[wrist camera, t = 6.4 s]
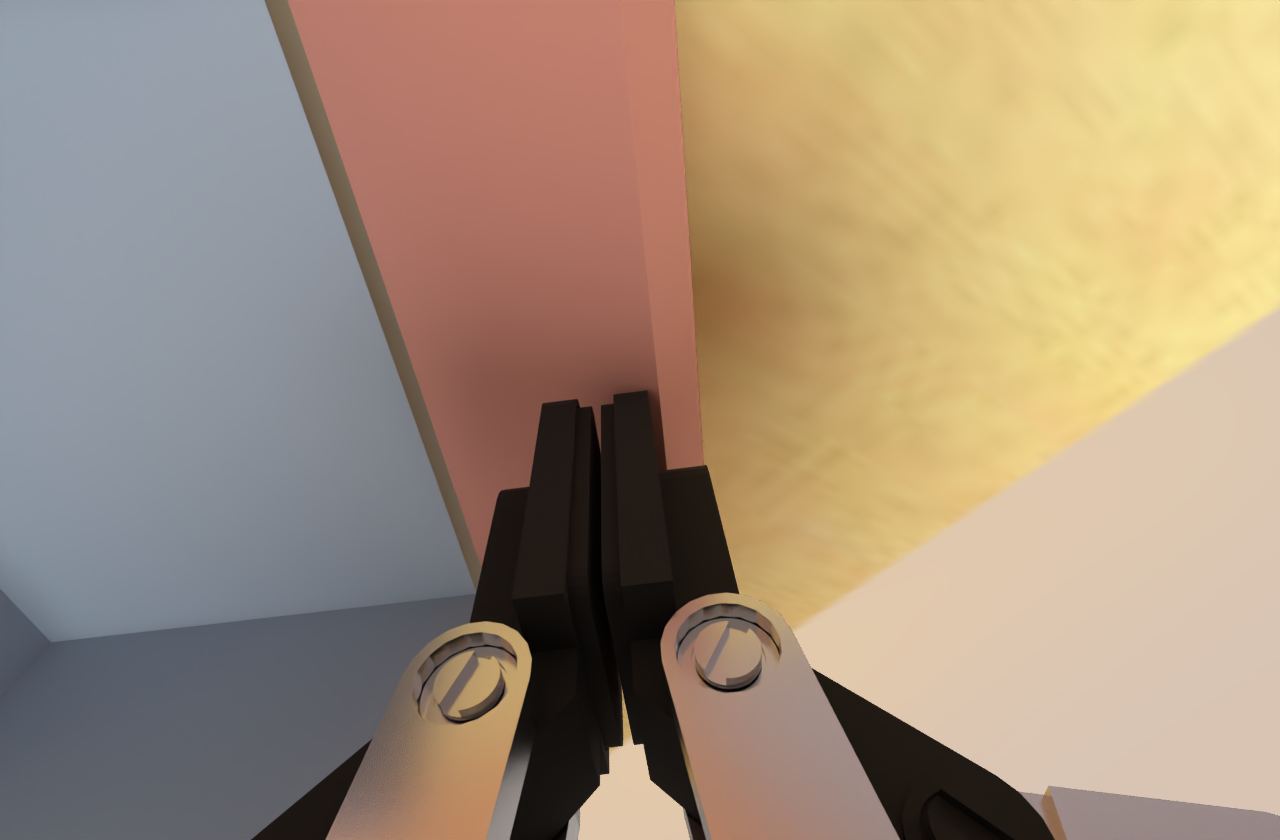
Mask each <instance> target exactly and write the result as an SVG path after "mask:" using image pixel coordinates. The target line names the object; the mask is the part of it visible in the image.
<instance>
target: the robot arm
mask: <svg viewBox="0 0 1280 840" xmlns="http://www.w3.org/2000/svg"><path fill="white" fill-rule="evenodd" d="M613 403H614V404H606V405H601V451H600V446H599V440H598V434H597V429H596V423H595V417H594V412H593V408H592V406H589V407H581V408H580V405H579V401H578V399H572V400H564V401H556V402H547V403H543V404H542V407H541V414H540V420H539V426H538V433H537V439H536V446H535V452H534V459H533V465H532V472H531V478H530V484H529V487H522V488H513V489H505V490H501V491H500V492H499V494H498V497H497V501H496V505H495V510H494V514H493V519H492V523H491V528H490V532H489V537H488V541H487V546H486V551H485V555H484V560H483V564H482V569H481V573H480V578H479V582H478V587H477V591H476V596H475V600H474V605H473V610H472V614H471V619H470V623H468V624H464V625H462V626H459V627H456V628H454V629H451V630H448V631H446V632H445V633H443V634H441V635H440V636H438V637H437V638H435V639H433V640H432V641H430V642H429V643H428V644H427V645H426V646H425V647H424V648H423V649H422V650H421V651H420V652H419V653H418V654H417V655H416V656H414V658H413V659H412V661H411V662H410V664H409V665H408V667H407V669H406V670H405V672H404V673H403V675H402V677H401V679H400V681H399V683H398V686H397V688H396V690H395V692H394V694H393V696H392V698H391V701H390V703H389V705H388V707H387V709H386V711H385V713H384V716H383V718H382V720H381V722H380V724H379V726H378V728H377V730H376V733H375V735H374V737H373V738H372V739H371V740H370V741H369V742H368V743H366V744H365V745H364V746H363V747H362V748H360V749H359V750H358V751H357V752H356V753H354V754H353V755H352V756H351V757H350V758H348V759H347V760H346V761H345V762H344V763H342V764H341V765H340V766H339V767H337V768H336V769H335V770H334V771H333V772H331V773H330V774H329V775H328V776H327V777H325V778H324V779H323V780H322V781H321V782H319V783H318V784H317V785H316V786H315V787H313V788H312V789H311V790H310V791H309V792H307V793H306V794H305V795H304V796H303V797H301V798H300V799H299V800H298V801H297V802H295V803H294V804H293V805H292V806H291V807H289V808H288V809H287V810H286V811H285V812H283V813H282V814H281V815H280V816H279V817H277V818H276V819H275V820H274V821H273V822H271V823H270V824H269V825H268V826H267V827H265V828H264V829H263V830H262V831H261V832H259V833H258V834H257V835H256V836H255V837H253V838H252V839H251V840H578V834H579V828H580V807H581V806H582V805H583V804H584V803H585V802H586V800H587V799H588V798H589V797H590V796H591V795H592V794H593V792H594V791H595V790H596V789H597V788H598V787H599V786H600V775H602V774H609V747H617V746H623V715H622V690H623V695H624V700H625V704H626V709H627V714H628V719H629V724H630V729H631V734H632V739H633V743H634V745H637V744H644V749H645V754H646V760H647V765H648V770H649V775H650V780H651V781H653V782H654V783H655V784H656V785H657V786H659V787H660V788H661V789H662V790H663V791H664V792H665V793H667V794H668V795H669V796H670V797H672V798H673V799H674V800H675V801H676V802H677V803H679V804H680V805H681V806H682V807H683V810H684V816H685V820H686V825H687V828H688V832H689V837H690V840H1280V816H1278V815H1274V814H1271V813H1267V812H1260V811H1253V810H1244V809H1236V808H1228V807H1220V806H1211V805H1202V804H1195V803H1186V802H1178V801H1169V800H1161V799H1152V798H1144V797H1135V796H1127V795H1119V794H1111V793H1103V792H1094V791H1087V790H1078V789H1070V788H1061V787H1053V786H1048V788H1047V790H1046V792H1045V794H1044V795H1040V794H1032V793H1024V792H1018V791H1016V790H1015V789H1014V788H1012V787H1011V786H1010V785H1008V784H1007V783H1006V782H1004V781H1003V780H1001V779H1000V778H999V777H997V776H996V775H994V774H992V773H991V772H989V771H987V770H986V769H984V768H982V767H981V766H979V765H977V764H975V763H973V762H972V761H970V760H969V759H967V758H965V757H963V756H962V755H960V754H958V753H957V752H955V751H953V750H951V749H950V748H948V747H946V746H944V745H943V744H941V743H939V742H938V741H936V740H934V739H932V738H931V737H929V736H927V735H926V734H924V733H922V732H920V731H919V730H917V729H915V728H914V727H912V726H910V725H908V724H907V723H905V722H903V721H901V720H900V719H898V718H896V717H895V716H893V715H891V714H890V713H888V712H886V711H884V710H883V709H881V708H879V707H878V706H876V705H874V704H872V703H871V702H869V701H867V700H866V699H864V698H862V697H860V696H859V695H857V694H855V693H853V692H852V691H850V690H848V689H846V688H845V687H843V686H841V685H840V684H838V683H836V682H835V681H833V680H831V679H829V678H828V677H826V676H824V675H823V674H821V673H819V672H817V671H816V670H814V669H812V668H811V666H810V665H809V663H808V661H807V659H806V657H805V655H804V653H803V651H802V649H801V647H800V645H799V644H798V641H797V639H796V637H795V635H794V633H793V632H792V630H791V628H790V627H789V625H788V624H787V623H786V621H785V620H784V619H783V617H782V616H781V615H780V613H778V612H777V611H776V610H774V609H773V608H772V607H770V606H769V605H767V604H766V603H765V602H762V601H760V600H757V599H755V598H752V597H750V596H747V595H741V594H739V591H738V587H737V583H736V579H735V575H734V571H733V567H732V563H731V559H730V555H729V551H728V547H727V543H726V539H725V535H724V531H723V527H722V523H721V519H720V515H719V511H718V507H717V503H716V499H715V495H714V491H713V487H712V483H711V479H710V475H709V471H708V468H707V466H706V465H703V466H694V467H686V468H678V469H670V470H662V471H658V466H657V459H656V451H655V444H654V437H653V429H652V422H651V414H650V407H649V399H648V392H647V390H645V391H637V392H629V393H621V394H614V395H613Z"/></svg>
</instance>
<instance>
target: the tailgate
mask: <svg viewBox="0 0 1280 840" xmlns="http://www.w3.org/2000/svg"><path fill="white" fill-rule="evenodd" d="M288 3H289V6H290V9H291V12H292V15H293V18H294V21H295V24H296V26H297V29H298V32H299V35H300V38H301V41H302V44H303V47H304V50H305V53H306V56H307V59H308V62H309V65H310V67H311V70H312V73H313V76H314V79H315V82H316V85H317V88H318V91H319V94H320V97H321V100H322V103H323V106H324V108H325V111H326V114H327V117H328V120H329V123H330V126H331V129H332V132H333V135H334V138H335V141H336V144H337V147H338V149H339V152H340V155H341V158H342V161H343V164H344V167H345V170H346V173H347V176H348V179H349V182H350V185H351V188H352V190H353V193H354V196H355V199H356V202H357V205H358V208H359V211H360V214H361V217H362V220H363V223H364V226H365V229H366V231H367V234H368V237H369V240H370V243H371V246H372V249H373V252H374V255H375V258H376V261H377V264H378V267H379V269H380V272H381V275H382V278H383V281H384V284H385V287H386V290H387V293H388V296H389V299H390V302H391V305H392V308H393V310H394V313H395V316H396V319H397V322H398V325H399V328H400V331H401V334H402V337H403V340H404V343H405V346H406V349H407V351H408V354H409V357H410V360H411V363H412V366H413V369H414V372H415V375H416V378H417V381H418V384H419V387H420V390H421V392H422V395H423V398H424V401H425V404H426V407H427V410H428V413H429V416H430V419H431V422H432V425H433V428H434V431H435V433H436V436H437V439H438V442H439V445H440V448H441V451H442V454H443V457H444V460H445V463H446V466H447V469H448V472H449V474H450V477H451V480H452V483H453V486H454V489H455V492H456V495H457V498H458V501H459V504H460V507H461V510H462V513H463V515H464V518H465V521H466V524H467V527H468V530H469V533H470V536H471V539H472V542H473V545H474V548H475V551H476V553H477V556H478V559H479V562H480V565H481V568H482V564H483V560H484V555H485V551H486V546H487V541H488V537H489V532H490V528H491V523H492V519H493V514H494V510H495V505H496V501H497V497H498V494H499V492H500V491H501V490H505V489H513V488H522V487H529V484H530V478H531V472H532V465H533V459H534V452H535V446H536V439H537V433H538V426H539V420H540V414H541V407H542V404H543V403H547V402H556V401H564V400H572V399H578V401H579V405H580V408H581V407H589V406H592V408H593V412H594V417H595V423H596V429H597V434H598V440H599V446H600V451H601V405H606V404H614V403H613V395H614V394H621V393H629V392H637V391H645V390H647V392H648V399H649V407H650V414H651V422H652V429H653V437H654V444H655V451H656V459H657V466H658V471H662V470H670V469H678V468H686V467H694V466H703V465H704V462H703V446H702V430H701V414H700V399H699V383H698V367H697V351H696V336H695V320H694V304H693V288H692V273H691V257H690V241H689V225H688V210H687V194H686V178H685V162H684V147H683V131H682V115H681V99H680V84H679V68H678V52H677V36H676V21H675V5H674V0H288Z"/></svg>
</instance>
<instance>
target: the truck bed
mask: <svg viewBox="0 0 1280 840" xmlns="http://www.w3.org/2000/svg"><path fill="white" fill-rule="evenodd" d="M481 569H482V568H481V565H480V562H479V559H478V556H477V553H476V551H475V548H474V545H473V542H472V539H471V536H470V533H469V530H468V527H467V524H466V521H465V518H464V515H463V513H462V510H461V507H460V504H459V501H458V498H457V495H456V492H455V489H454V486H453V483H452V480H451V477H450V474H449V472H448V469H447V466H446V463H445V460H444V457H443V454H442V451H441V448H440V445H439V442H438V439H437V436H436V433H435V431H434V428H433V425H432V422H431V419H430V416H429V413H428V410H427V407H426V404H425V401H424V398H423V395H422V392H421V390H420V387H419V384H418V381H417V378H416V375H415V372H414V369H413V366H412V363H411V360H410V357H409V354H408V351H407V349H406V346H405V343H404V340H403V337H402V334H401V331H400V328H399V325H398V322H397V319H396V316H395V313H394V310H393V308H392V305H391V302H390V299H389V296H388V293H387V290H386V287H385V284H384V281H383V278H382V275H381V272H380V269H379V267H378V264H377V261H376V258H375V255H374V252H373V249H372V246H371V243H370V240H369V237H368V234H367V231H366V229H365V226H364V223H363V220H362V217H361V214H360V211H359V208H358V205H357V202H356V199H355V196H354V193H353V190H352V188H351V185H350V182H349V179H348V176H347V173H346V170H345V167H344V164H343V161H342V158H341V155H340V152H339V149H338V147H337V144H336V141H335V138H334V135H333V132H332V129H331V126H330V123H329V120H328V117H327V114H326V111H325V108H324V106H323V103H322V100H321V97H320V94H319V91H318V88H317V85H316V82H315V79H314V76H313V73H312V70H311V67H310V65H309V62H308V59H307V56H306V53H305V50H304V47H303V44H302V41H301V38H300V35H299V32H298V29H297V26H296V24H295V21H294V18H293V15H292V12H291V9H290V6H289V3H288V0H0V840H251V839H252V838H253V837H255V836H256V835H257V834H258V833H259V832H261V831H262V830H263V829H264V828H265V827H267V826H268V825H269V824H270V823H271V822H273V821H274V820H275V819H276V818H277V817H279V816H280V815H281V814H282V813H283V812H285V811H286V810H287V809H288V808H289V807H291V806H292V805H293V804H294V803H295V802H297V801H298V800H299V799H300V798H301V797H303V796H304V795H305V794H306V793H307V792H309V791H310V790H311V789H312V788H313V787H315V786H316V785H317V784H318V783H319V782H321V781H322V780H323V779H324V778H325V777H327V776H328V775H329V774H330V773H331V772H333V771H334V770H335V769H336V768H337V767H339V766H340V765H341V764H342V763H344V762H345V761H346V760H347V759H348V758H350V757H351V756H352V755H353V754H354V753H356V752H357V751H358V750H359V749H360V748H362V747H363V746H364V745H365V744H366V743H368V742H369V741H370V740H371V739H372V738H373V737H374V735H375V733H376V730H377V728H378V726H379V724H380V722H381V720H382V718H383V716H384V713H385V711H386V709H387V707H388V705H389V703H390V701H391V698H392V696H393V694H394V692H395V690H396V688H397V686H398V683H399V681H400V679H401V677H402V675H403V673H404V672H405V670H406V669H407V667H408V665H409V664H410V662H411V661H412V659H413V658H414V656H416V655H417V654H418V653H419V652H420V651H421V650H422V649H423V648H424V647H425V646H426V645H427V644H428V643H429V642H430V641H432V640H433V639H435V638H437V637H438V636H440V635H441V634H443V633H445V632H446V631H448V630H451V629H454V628H456V627H459V626H462V625H464V624H468V623H470V619H471V614H472V610H473V605H474V600H475V596H476V591H477V587H478V582H479V578H480V573H481Z"/></svg>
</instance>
